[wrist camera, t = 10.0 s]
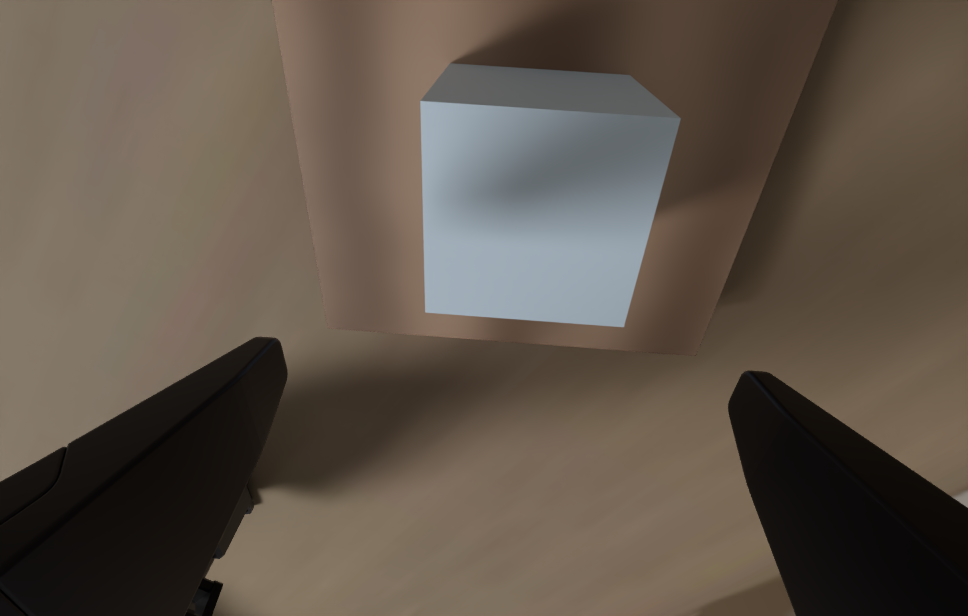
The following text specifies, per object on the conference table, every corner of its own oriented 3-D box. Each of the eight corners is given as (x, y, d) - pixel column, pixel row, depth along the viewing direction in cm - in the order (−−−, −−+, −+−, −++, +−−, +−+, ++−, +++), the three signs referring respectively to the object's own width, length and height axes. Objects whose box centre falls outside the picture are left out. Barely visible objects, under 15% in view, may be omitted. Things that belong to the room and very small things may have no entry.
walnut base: (347, 291, 23) (327, 328, 21) (287, -162, 14) (239, -192, 12) (676, 315, 23) (696, 356, 21) (831, -130, 14) (899, -154, 11)
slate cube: (448, 227, 18) (425, 312, 13) (449, 62, 15) (420, 100, 10) (596, 238, 18) (623, 327, 13) (629, 74, 15) (681, 118, 10)
